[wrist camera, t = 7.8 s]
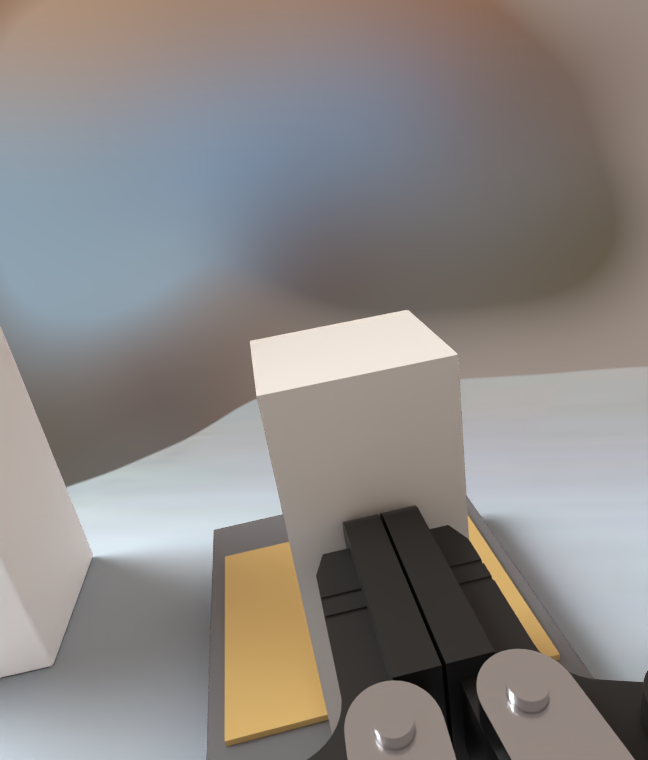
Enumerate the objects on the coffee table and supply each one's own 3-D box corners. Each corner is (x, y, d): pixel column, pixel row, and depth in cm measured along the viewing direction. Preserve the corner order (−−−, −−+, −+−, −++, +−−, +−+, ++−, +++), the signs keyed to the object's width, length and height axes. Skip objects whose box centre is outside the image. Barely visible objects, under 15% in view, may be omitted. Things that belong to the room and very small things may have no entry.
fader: (333, 743, 13) (257, 396, 10) (315, 641, 16) (249, 340, 12) (478, 705, 14) (457, 354, 10) (436, 611, 16) (407, 309, 13)
